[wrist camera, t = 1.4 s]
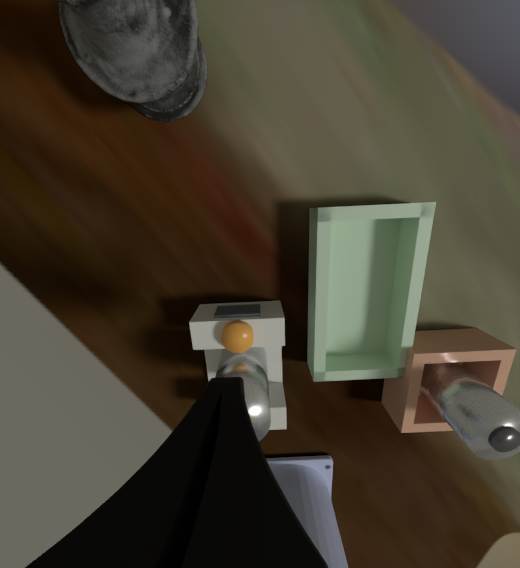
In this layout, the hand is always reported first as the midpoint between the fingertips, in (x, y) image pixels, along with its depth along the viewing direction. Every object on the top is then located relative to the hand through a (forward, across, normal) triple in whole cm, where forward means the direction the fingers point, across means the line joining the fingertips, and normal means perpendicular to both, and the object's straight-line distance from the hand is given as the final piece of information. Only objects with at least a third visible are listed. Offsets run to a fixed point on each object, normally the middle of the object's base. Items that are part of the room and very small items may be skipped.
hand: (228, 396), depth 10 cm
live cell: (+8, 0, +4) cm, 9 cm away
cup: (+8, -15, +6) cm, 18 cm away
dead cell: (+8, -15, +6) cm, 18 cm away
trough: (+8, -8, -1) cm, 12 cm away
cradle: (+8, 0, +4) cm, 9 cm away
